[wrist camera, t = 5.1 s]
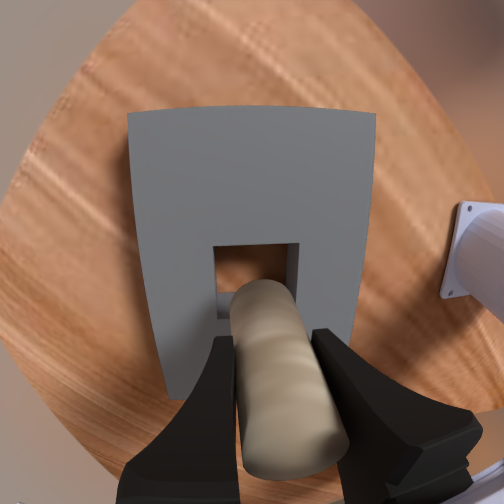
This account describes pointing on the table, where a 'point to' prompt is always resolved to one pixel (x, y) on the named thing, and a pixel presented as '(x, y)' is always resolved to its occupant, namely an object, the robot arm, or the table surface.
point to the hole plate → (247, 215)
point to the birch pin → (281, 388)
